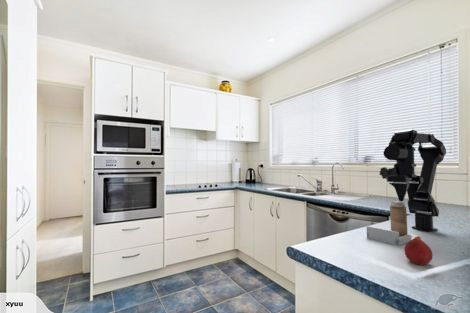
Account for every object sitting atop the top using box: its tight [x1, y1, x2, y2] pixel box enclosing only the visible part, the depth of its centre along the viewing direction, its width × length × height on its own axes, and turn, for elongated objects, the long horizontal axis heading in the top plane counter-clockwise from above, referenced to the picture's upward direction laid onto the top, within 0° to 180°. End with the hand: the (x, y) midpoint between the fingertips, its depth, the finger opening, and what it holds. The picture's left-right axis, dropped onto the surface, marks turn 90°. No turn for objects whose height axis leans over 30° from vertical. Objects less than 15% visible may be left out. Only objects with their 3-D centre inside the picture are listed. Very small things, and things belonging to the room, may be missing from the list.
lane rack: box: [366, 225, 417, 246], centre depth 82 cm, size 17×10×5 cm, turn 121°
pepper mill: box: [389, 201, 409, 237], centre depth 84 cm, size 5×5×12 cm
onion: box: [403, 235, 434, 266], centre depth 60 cm, size 6×6×8 cm
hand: (406, 200), depth 89 cm, fingers open, 9 cm apart
